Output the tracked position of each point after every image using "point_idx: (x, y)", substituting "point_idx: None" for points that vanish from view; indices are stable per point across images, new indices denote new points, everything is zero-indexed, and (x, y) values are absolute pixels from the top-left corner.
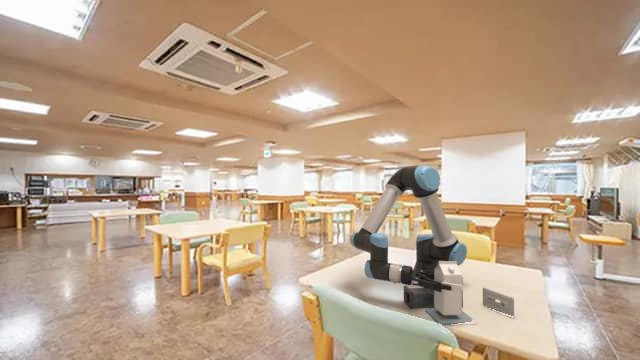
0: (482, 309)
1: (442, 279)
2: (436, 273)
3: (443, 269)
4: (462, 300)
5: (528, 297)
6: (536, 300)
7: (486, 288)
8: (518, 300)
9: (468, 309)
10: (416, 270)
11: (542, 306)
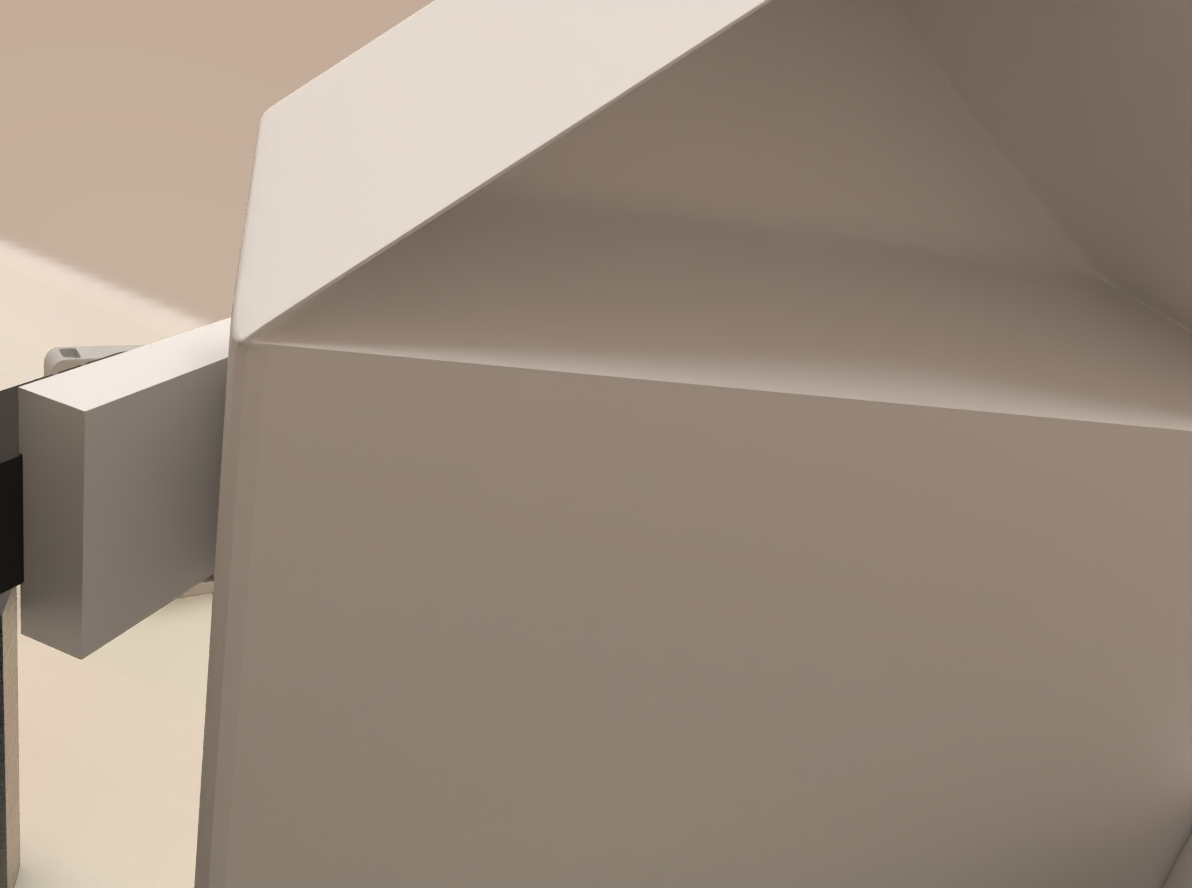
0: (166, 664)
1: (1160, 711)
2: (561, 594)
3: (1189, 159)
4: (16, 761)
5: (6, 294)
6: (82, 296)
7: (103, 351)
8: (38, 353)
9: (123, 819)
10: None
11: (200, 326)
